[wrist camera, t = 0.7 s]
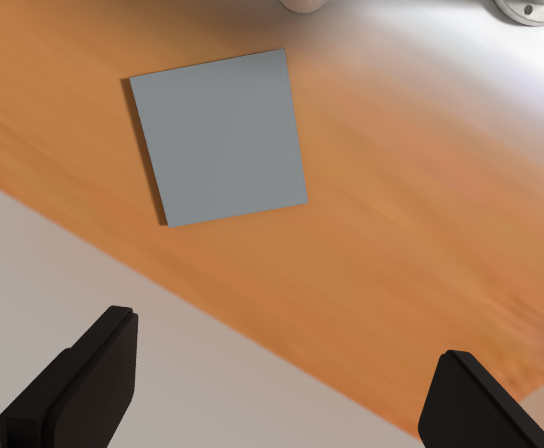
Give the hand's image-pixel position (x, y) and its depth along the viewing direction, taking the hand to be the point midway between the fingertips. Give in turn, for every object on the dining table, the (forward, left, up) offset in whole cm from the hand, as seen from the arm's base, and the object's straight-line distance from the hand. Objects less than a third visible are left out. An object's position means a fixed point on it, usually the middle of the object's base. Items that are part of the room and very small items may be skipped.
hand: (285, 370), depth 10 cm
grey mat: (+4, -7, -29) cm, 30 cm away
